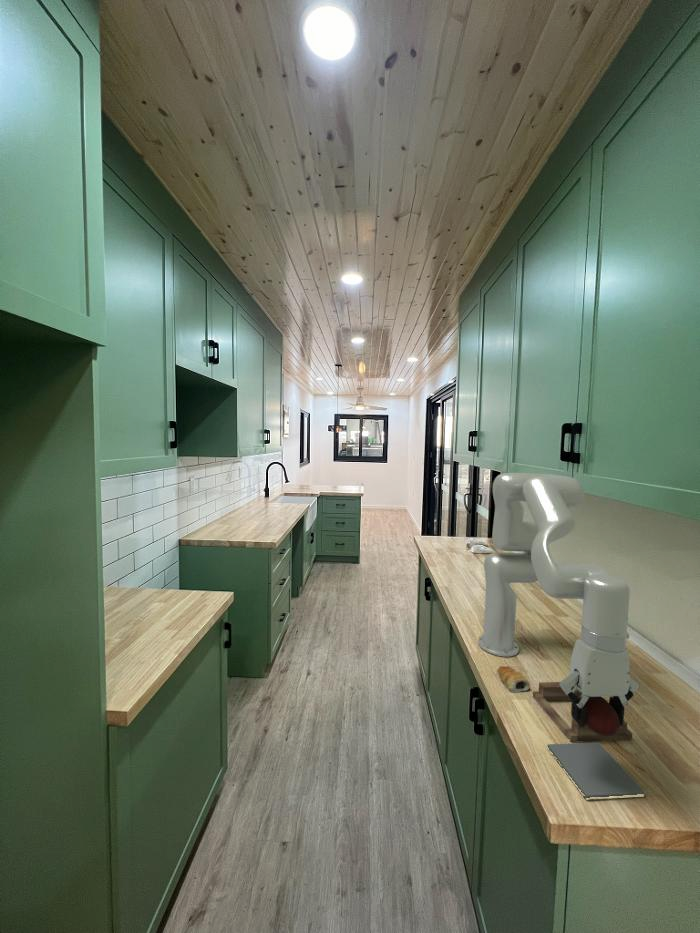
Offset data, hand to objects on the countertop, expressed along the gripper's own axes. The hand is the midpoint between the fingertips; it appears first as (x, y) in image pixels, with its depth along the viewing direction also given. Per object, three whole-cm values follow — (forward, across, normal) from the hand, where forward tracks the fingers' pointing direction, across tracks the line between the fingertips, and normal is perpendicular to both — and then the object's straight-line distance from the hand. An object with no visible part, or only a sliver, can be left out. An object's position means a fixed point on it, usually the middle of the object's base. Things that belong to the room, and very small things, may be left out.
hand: (596, 720), depth 76 cm
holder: (+11, -8, -15) cm, 20 cm away
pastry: (+11, +2, -28) cm, 31 cm away
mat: (+11, 0, 0) cm, 11 cm away
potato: (+2, 0, 0) cm, 2 cm away
